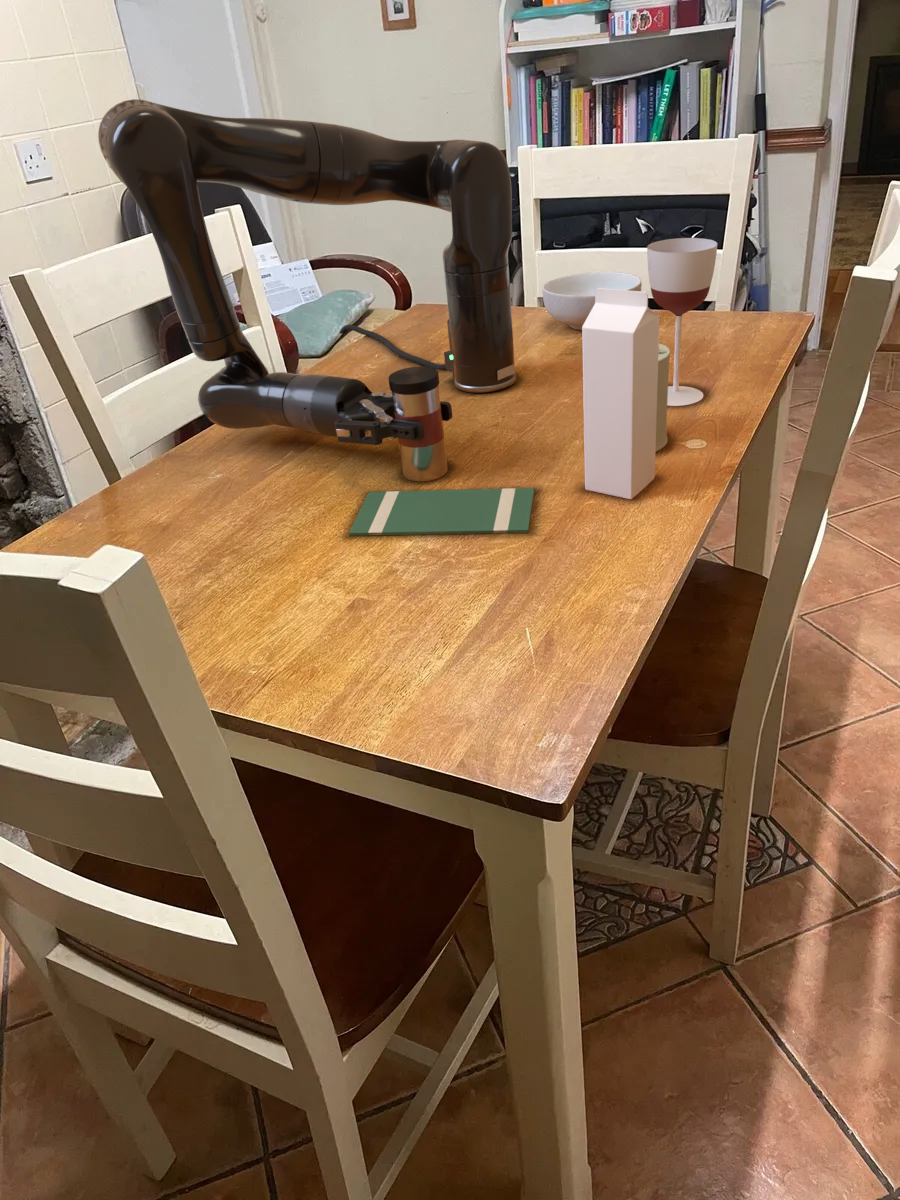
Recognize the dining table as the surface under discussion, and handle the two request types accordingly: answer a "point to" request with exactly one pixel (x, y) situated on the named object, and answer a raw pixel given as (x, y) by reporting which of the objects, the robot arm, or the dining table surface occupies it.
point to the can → (662, 396)
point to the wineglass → (681, 292)
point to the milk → (620, 392)
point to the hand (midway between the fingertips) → (436, 421)
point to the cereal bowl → (582, 294)
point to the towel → (445, 512)
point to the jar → (420, 403)
